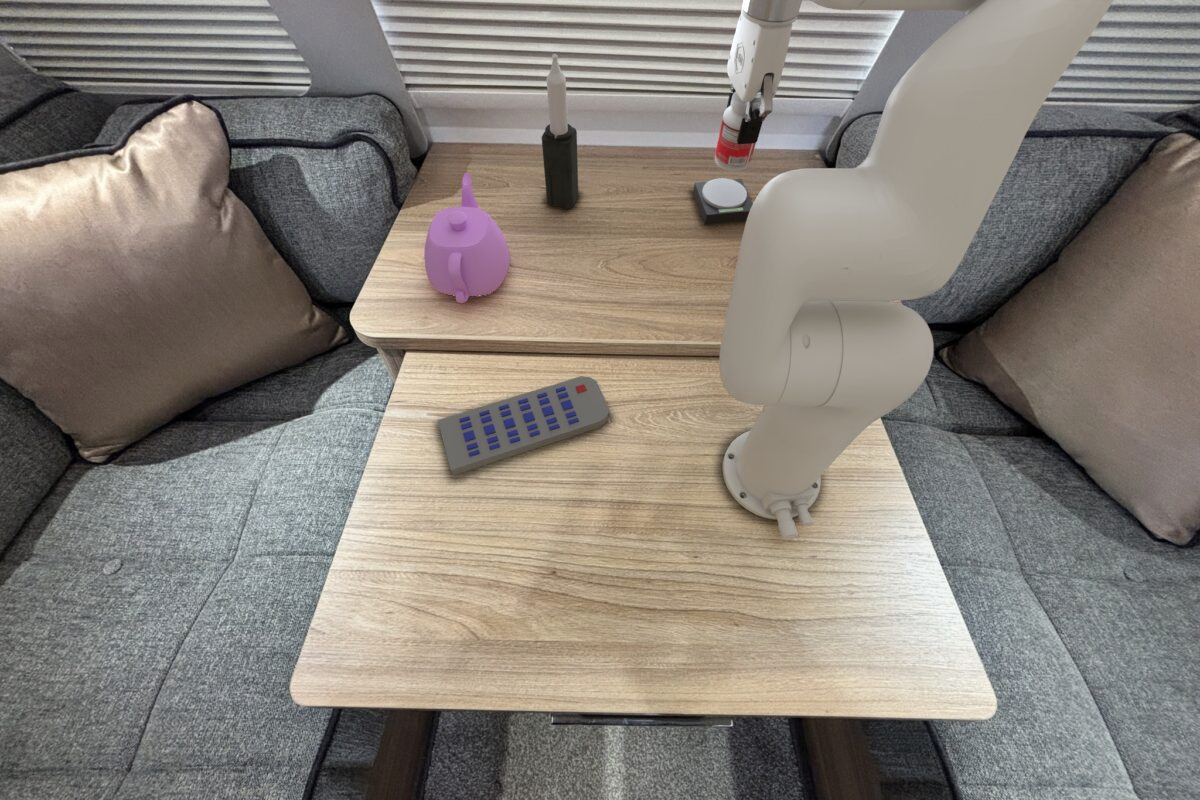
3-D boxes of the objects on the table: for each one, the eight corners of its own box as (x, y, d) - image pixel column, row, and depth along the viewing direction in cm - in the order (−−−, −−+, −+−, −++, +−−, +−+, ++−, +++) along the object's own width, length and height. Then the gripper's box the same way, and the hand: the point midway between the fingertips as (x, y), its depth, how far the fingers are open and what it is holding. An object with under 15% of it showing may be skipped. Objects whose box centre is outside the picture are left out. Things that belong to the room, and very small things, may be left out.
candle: (545, 204, 98) (532, 59, 77) (554, 187, 101) (544, 43, 79) (571, 210, 97) (565, 65, 76) (580, 193, 100) (576, 48, 79)
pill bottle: (731, 147, 93) (746, 82, 84) (757, 164, 91) (776, 98, 81) (706, 160, 91) (719, 95, 82) (732, 178, 89) (748, 112, 79)
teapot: (507, 315, 84) (496, 259, 74) (423, 315, 84) (400, 259, 74) (516, 228, 95) (507, 169, 84) (441, 228, 94) (423, 169, 84)
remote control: (441, 426, 74) (437, 418, 72) (593, 379, 78) (593, 370, 76) (453, 476, 70) (449, 469, 68) (613, 423, 74) (613, 415, 72)
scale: (752, 220, 96) (756, 207, 94) (704, 224, 96) (707, 212, 93) (738, 188, 101) (742, 175, 99) (692, 192, 100) (695, 179, 98)
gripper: (727, -26, 75) (704, 102, 90) (765, 34, 66) (732, 164, 81) (778, -28, 76) (747, 99, 91) (822, 31, 67) (779, 160, 82)
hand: (740, 129), depth 86 cm, fingers closed on pill bottle, 6 cm apart
